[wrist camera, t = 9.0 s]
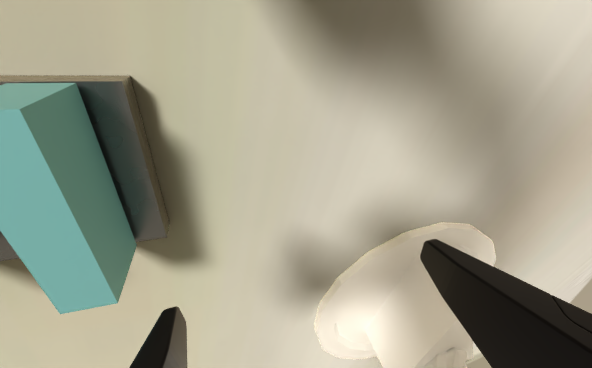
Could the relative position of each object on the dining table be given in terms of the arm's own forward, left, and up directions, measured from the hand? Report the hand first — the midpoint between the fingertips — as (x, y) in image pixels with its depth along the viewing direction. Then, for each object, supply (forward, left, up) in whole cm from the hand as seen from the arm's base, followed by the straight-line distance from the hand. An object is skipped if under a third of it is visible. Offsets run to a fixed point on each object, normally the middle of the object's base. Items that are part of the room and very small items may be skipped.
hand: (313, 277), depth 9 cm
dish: (-18, +22, -11) cm, 31 cm away
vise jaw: (+10, 0, -9) cm, 13 cm away
